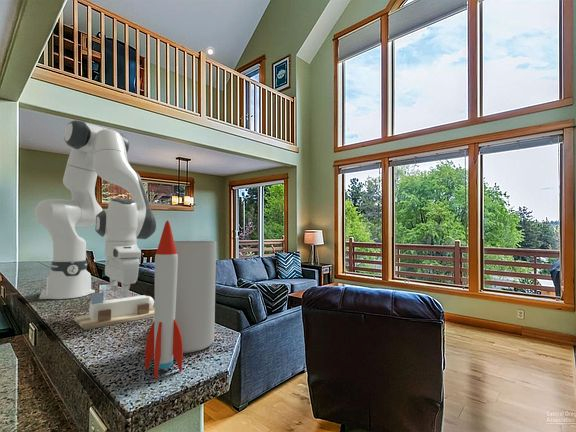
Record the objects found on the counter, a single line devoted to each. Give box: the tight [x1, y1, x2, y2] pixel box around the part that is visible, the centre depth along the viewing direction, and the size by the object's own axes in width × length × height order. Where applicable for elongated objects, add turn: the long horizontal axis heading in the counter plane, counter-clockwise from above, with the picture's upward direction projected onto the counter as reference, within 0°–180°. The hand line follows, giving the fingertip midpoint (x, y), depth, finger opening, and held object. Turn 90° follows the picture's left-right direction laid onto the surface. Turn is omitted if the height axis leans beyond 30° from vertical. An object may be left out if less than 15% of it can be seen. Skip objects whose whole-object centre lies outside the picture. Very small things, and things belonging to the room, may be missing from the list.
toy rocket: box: [144, 220, 184, 380], centre depth 64 cm, size 6×6×30 cm
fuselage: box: [88, 291, 155, 321], centre depth 100 cm, size 4×18×8 cm, turn 135°
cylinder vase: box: [174, 240, 217, 354], centre depth 78 cm, size 12×12×25 cm
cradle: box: [73, 303, 155, 331], centre depth 99 cm, size 12×22×4 cm, turn 135°
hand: (119, 294), depth 99 cm, fingers open, 8 cm apart
